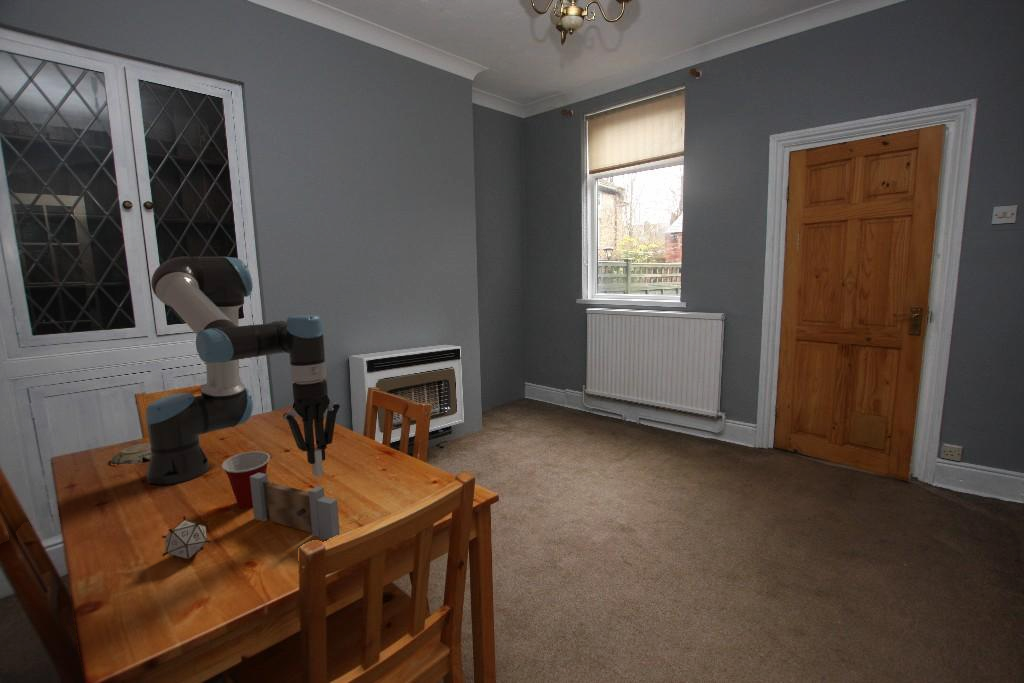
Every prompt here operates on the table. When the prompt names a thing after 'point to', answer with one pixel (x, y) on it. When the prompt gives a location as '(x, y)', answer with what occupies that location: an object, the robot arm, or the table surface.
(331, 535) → the grey upright posts
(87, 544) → the table surface
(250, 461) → the plastic cup
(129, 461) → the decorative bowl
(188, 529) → the game die
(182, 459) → the robot arm
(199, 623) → the table surface
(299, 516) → the door
